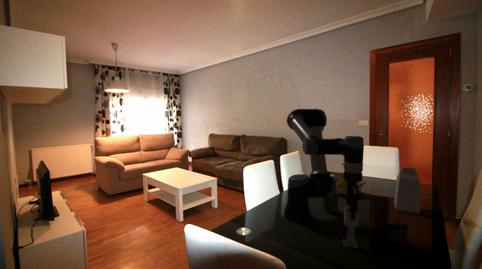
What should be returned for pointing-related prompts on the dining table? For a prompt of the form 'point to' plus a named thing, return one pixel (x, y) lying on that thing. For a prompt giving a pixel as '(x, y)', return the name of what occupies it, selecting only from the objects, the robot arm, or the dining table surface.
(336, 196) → the plant pot
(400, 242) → the flask
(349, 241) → the post
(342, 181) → the fruit bowl
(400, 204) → the milk
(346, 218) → the cap
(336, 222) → the dining table surface
